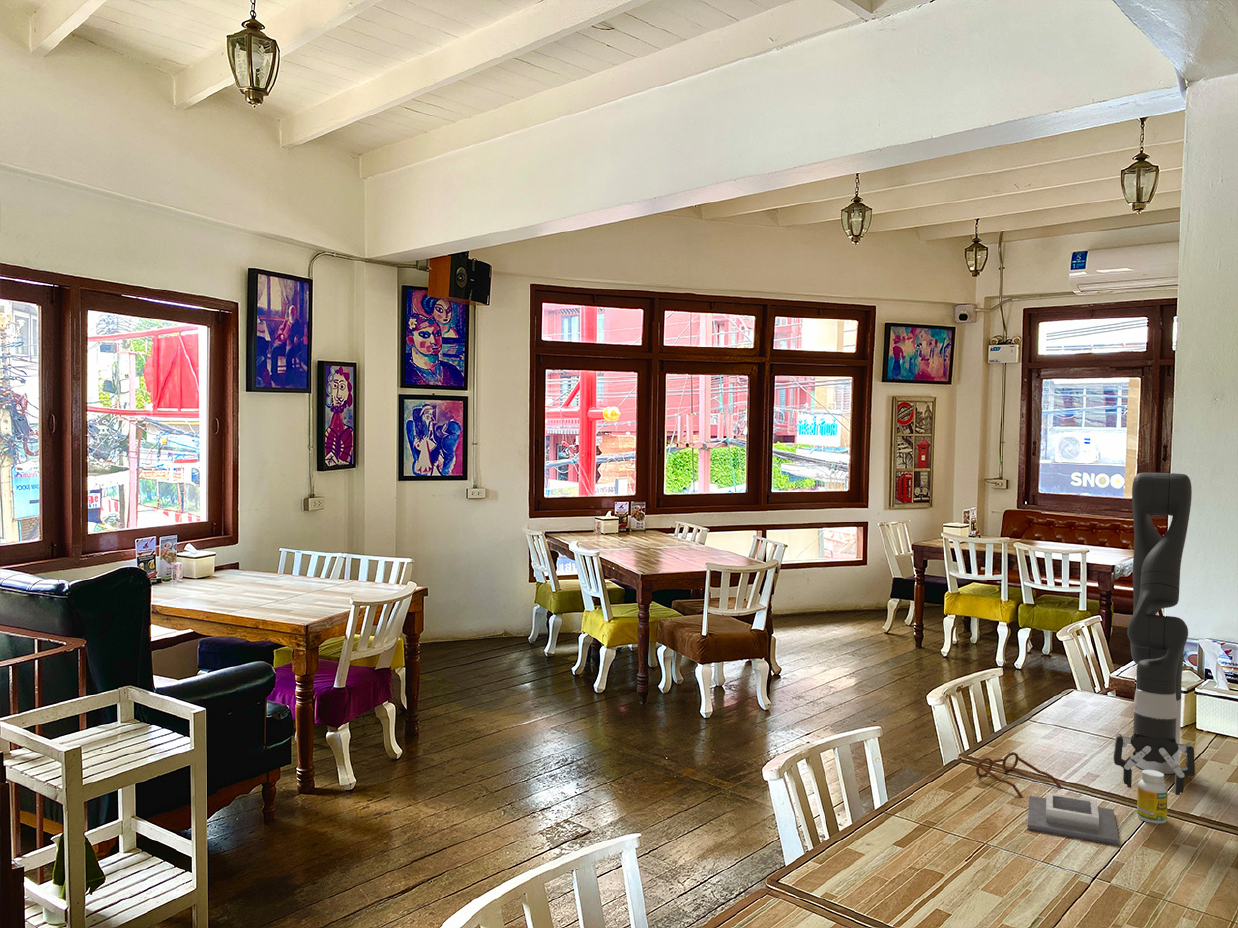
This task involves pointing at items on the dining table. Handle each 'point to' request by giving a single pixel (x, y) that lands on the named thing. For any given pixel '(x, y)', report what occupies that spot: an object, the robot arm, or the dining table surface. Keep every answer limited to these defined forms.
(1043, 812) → the mount
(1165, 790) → the supplement bottle
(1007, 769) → the glasses
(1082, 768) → the dining table surface
